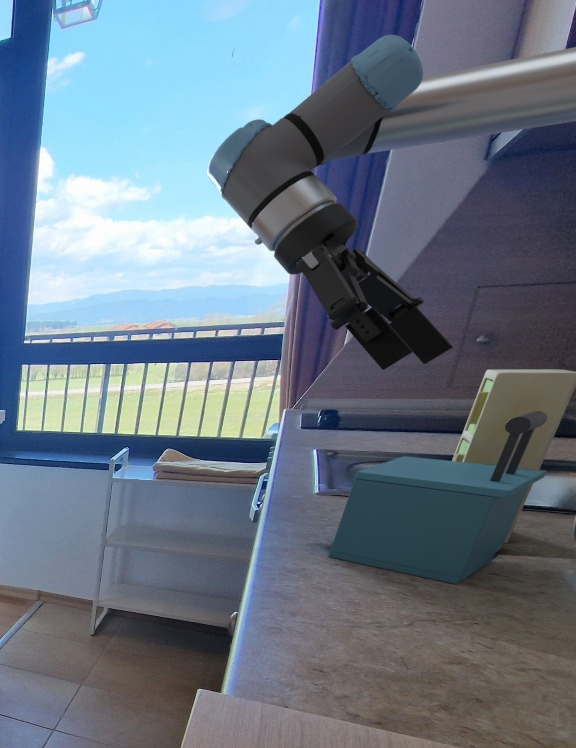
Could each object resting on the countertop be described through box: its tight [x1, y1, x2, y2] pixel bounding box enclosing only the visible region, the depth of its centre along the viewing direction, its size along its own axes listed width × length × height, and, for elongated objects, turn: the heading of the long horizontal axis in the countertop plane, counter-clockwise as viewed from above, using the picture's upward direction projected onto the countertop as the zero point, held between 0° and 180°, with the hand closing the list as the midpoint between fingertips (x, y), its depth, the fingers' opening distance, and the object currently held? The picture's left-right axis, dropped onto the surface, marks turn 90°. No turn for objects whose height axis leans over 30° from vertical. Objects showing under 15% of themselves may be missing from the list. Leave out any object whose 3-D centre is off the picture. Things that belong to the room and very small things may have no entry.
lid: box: [354, 411, 547, 498], centre depth 71 cm, size 12×16×8 cm
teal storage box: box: [328, 478, 529, 585], centre depth 75 cm, size 12×16×10 cm
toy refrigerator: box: [451, 369, 576, 544], centre depth 79 cm, size 8×7×21 cm
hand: (419, 358), depth 73 cm, fingers open, 13 cm apart
